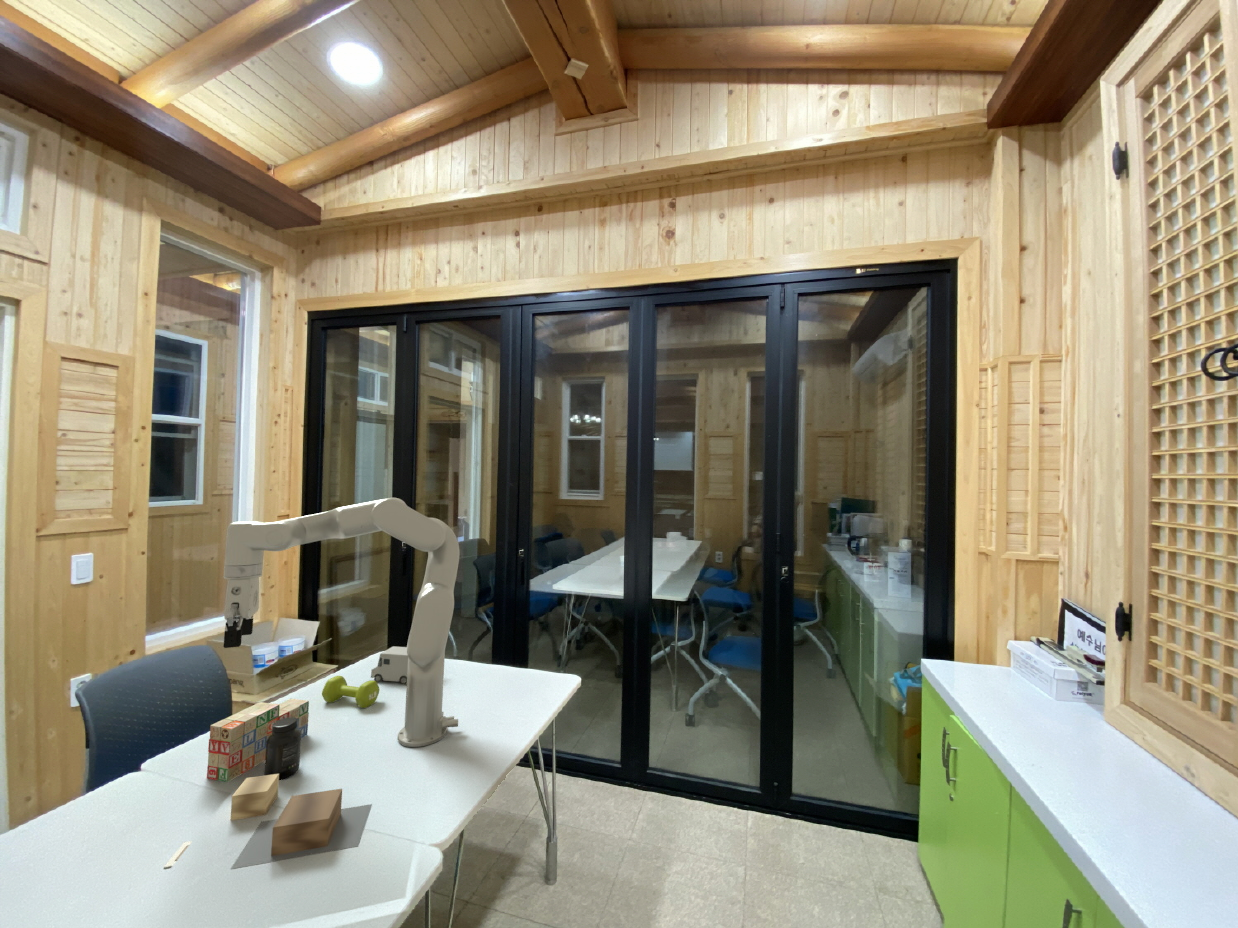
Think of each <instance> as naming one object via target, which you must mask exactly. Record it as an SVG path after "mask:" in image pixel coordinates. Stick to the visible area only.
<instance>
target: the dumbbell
mask: <svg viewBox="0 0 1238 928" xmlns="http://www.w3.org/2000/svg"><path fill="white" fill-rule="evenodd" d="M379 694H380V686H379V684H378V682H376V681H375V680H372V679H371V680H370V679H369V680H368V681H365V682H364V683H362V684H360V685H359V687H358V686H352V685H348V683H347V680H346V679H345V678H344V676H342V675H334V676H333V677H330V678H328V680H327V681H326V682H325V683H324V687H323V689H322V691H321V697H322V698H323V700H324V701H325V703H328V704H332V703H334V702H336V701H339V700H341V699H342V698H343V697H348V698H349V697H350V698H354V700H355V703H356V705H357V706H358V707H359V708H361V709H367V708H369V707H370V706H372V705H374V704H375V703H376V702H377V701H376V700H377V699H378V696H379Z"/></svg>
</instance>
